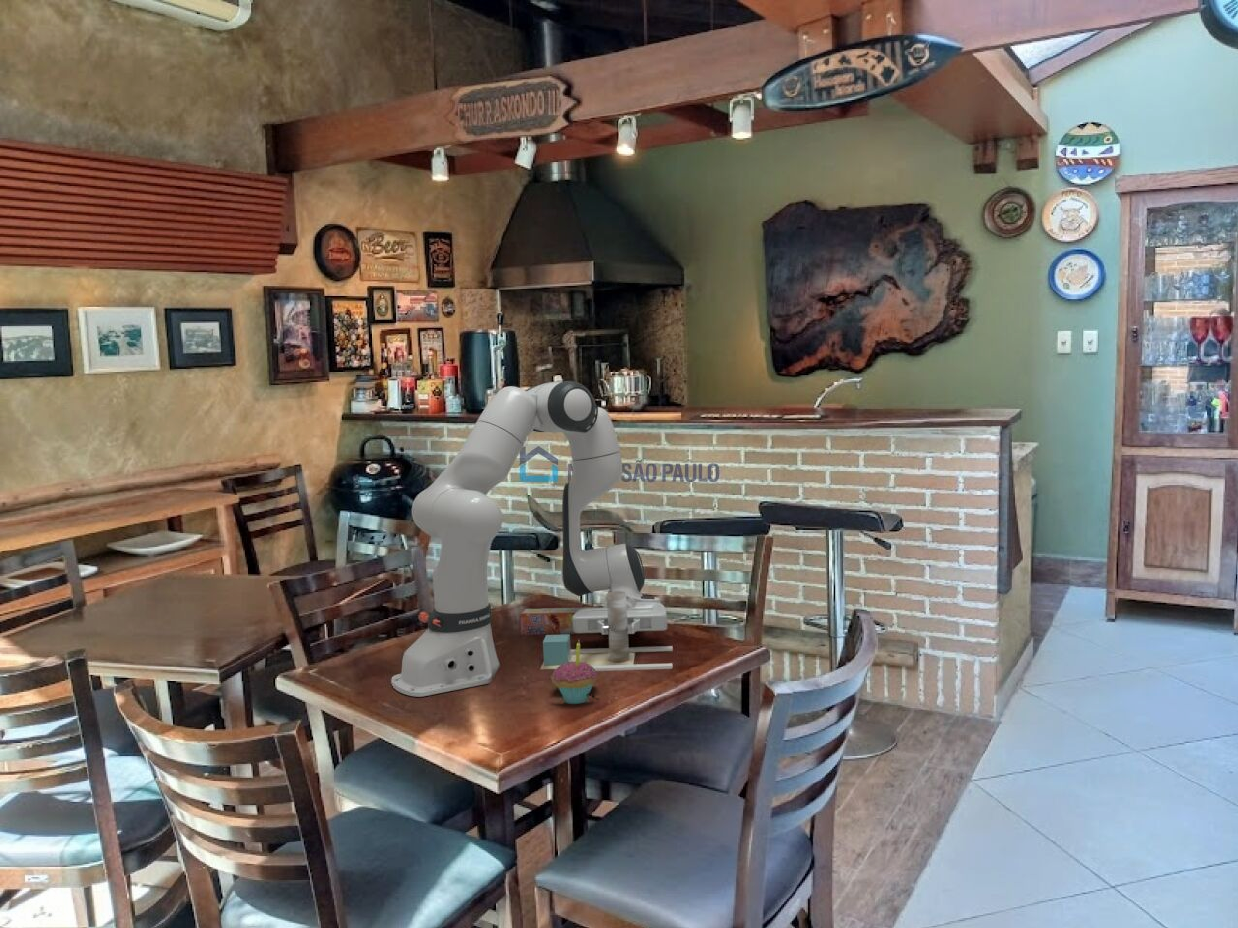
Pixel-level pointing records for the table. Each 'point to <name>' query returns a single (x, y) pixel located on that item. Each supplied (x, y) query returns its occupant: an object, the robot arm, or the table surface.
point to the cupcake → (574, 679)
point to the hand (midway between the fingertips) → (617, 630)
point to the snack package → (548, 621)
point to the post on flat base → (611, 636)
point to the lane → (629, 667)
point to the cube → (556, 649)
